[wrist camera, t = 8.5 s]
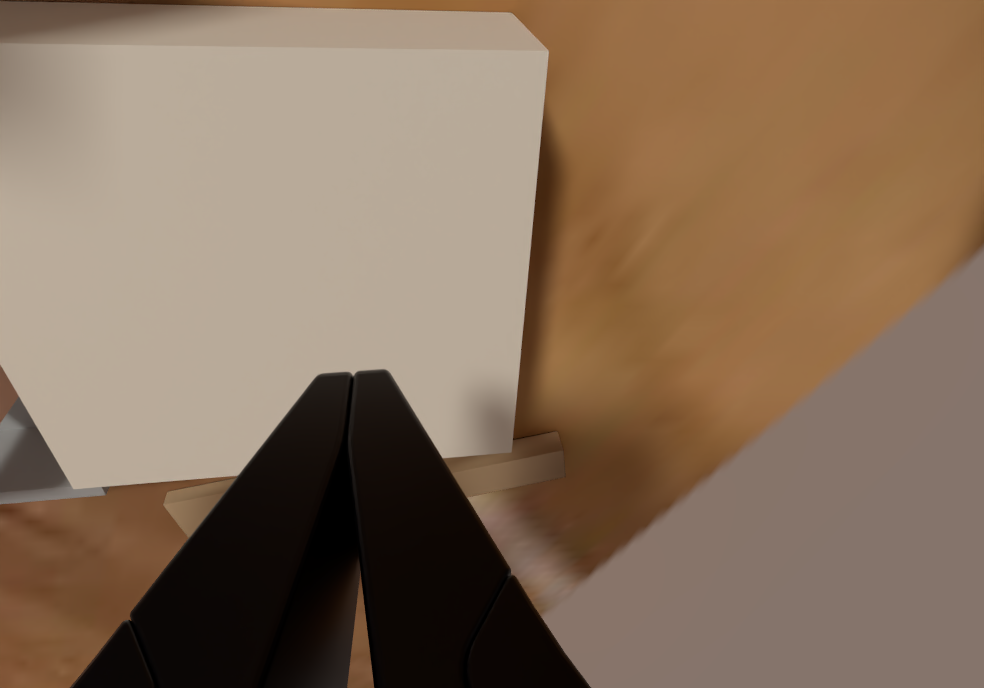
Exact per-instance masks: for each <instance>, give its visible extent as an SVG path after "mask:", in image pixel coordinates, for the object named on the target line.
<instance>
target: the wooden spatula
mask: <svg viewBox="0 0 984 688" xmlns="http://www.w3.org/2000/svg"><path fill="white" fill-rule="evenodd" d="M443 460H444V461H445V463H446V464H447V466H448V468H449V469H450V471H451V473H452V474H453V476H454V477H455V479H456V481H457V482H458V484H459V486H460V487H461V489H462V490H463V492H464V494H465V495H466V497H471V496H476V495H481V494H486V493H490V492H495V491H500V490H505V489H510V488H515V487H520V486H524V485H529V484H534V483H539V482H544V481H549V480H553V479H558V478H563V477H566V474H565V462H564V450H563V447H562V444H561V441H560V438H559V435H558V432H557V431H556V432H551V433H546V434H541V435H536V436H531V437H526V438H522V439H517V440H513V443H512V452H511V453H500V454H488V455H476V456H464V457H452V458H443ZM235 479H236V478H234V479H229V480H224V481H219V482H214V483H209V484H204V485H199V486H194V487H189V488H184V489H179V490H175V491H170V492H167V495H166V498H165V501H164V504H163V506H164V507H165V508H166V509H167V511H168V512H169V513H170V515H171V516H172V517H173V518H174V520H175V521H176V522H177V524H178V525H179V526H180V527H181V529H182V530H183V531H184V533H185V534H186V535H187V536H188V538H189V537H190V536H191V535H192V534H193V532H194V531H195V530H196V528H197V527H198V526H199V525H200V523H201V522H202V521H203V519H204V518H205V517H206V516H207V514H208V513H209V512H210V511H211V509H212V508H213V507H214V505H215V504H216V503H217V502H218V500H219V499H220V498H221V497H222V495H223V494H224V493H225V491H226V490H227V489H228V488H229V486H230V485H231V484H232V483H233V481H234V480H235Z"/></svg>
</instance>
